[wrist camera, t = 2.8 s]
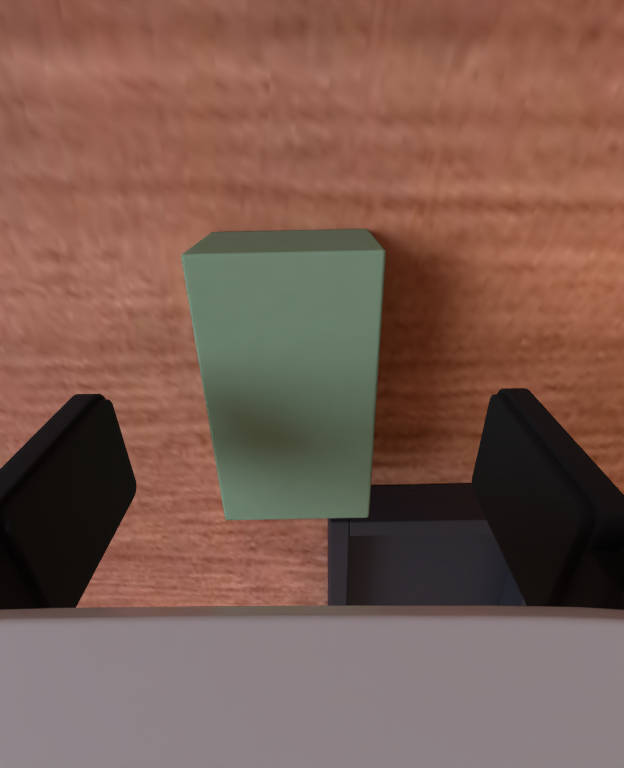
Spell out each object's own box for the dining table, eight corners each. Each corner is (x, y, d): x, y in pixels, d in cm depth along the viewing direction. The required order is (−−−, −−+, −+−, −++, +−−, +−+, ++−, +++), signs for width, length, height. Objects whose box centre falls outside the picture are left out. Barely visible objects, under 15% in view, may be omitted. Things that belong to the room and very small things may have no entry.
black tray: (328, 658, 25) (329, 698, 23) (327, 486, 18) (329, 523, 16) (488, 655, 25) (502, 695, 23) (546, 481, 18) (572, 518, 16)
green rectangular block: (239, 457, 17) (224, 521, 14) (210, 231, 13) (179, 254, 10) (358, 454, 17) (369, 518, 14) (368, 228, 13) (386, 249, 10)
